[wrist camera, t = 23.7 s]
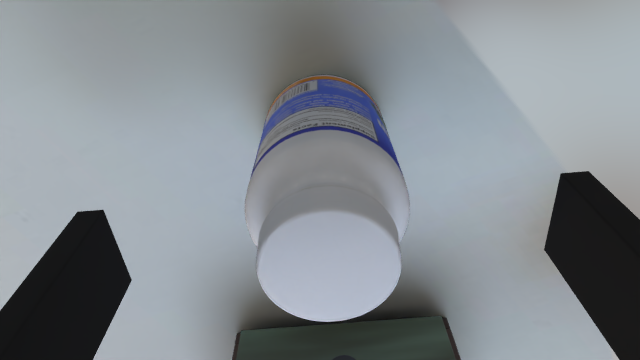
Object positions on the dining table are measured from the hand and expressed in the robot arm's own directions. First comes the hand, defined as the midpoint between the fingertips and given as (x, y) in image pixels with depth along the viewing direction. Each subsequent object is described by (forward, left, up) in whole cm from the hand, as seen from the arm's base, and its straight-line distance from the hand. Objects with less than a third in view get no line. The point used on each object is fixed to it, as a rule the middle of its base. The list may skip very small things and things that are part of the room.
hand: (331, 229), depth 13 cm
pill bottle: (0, 0, -8) cm, 8 cm away
